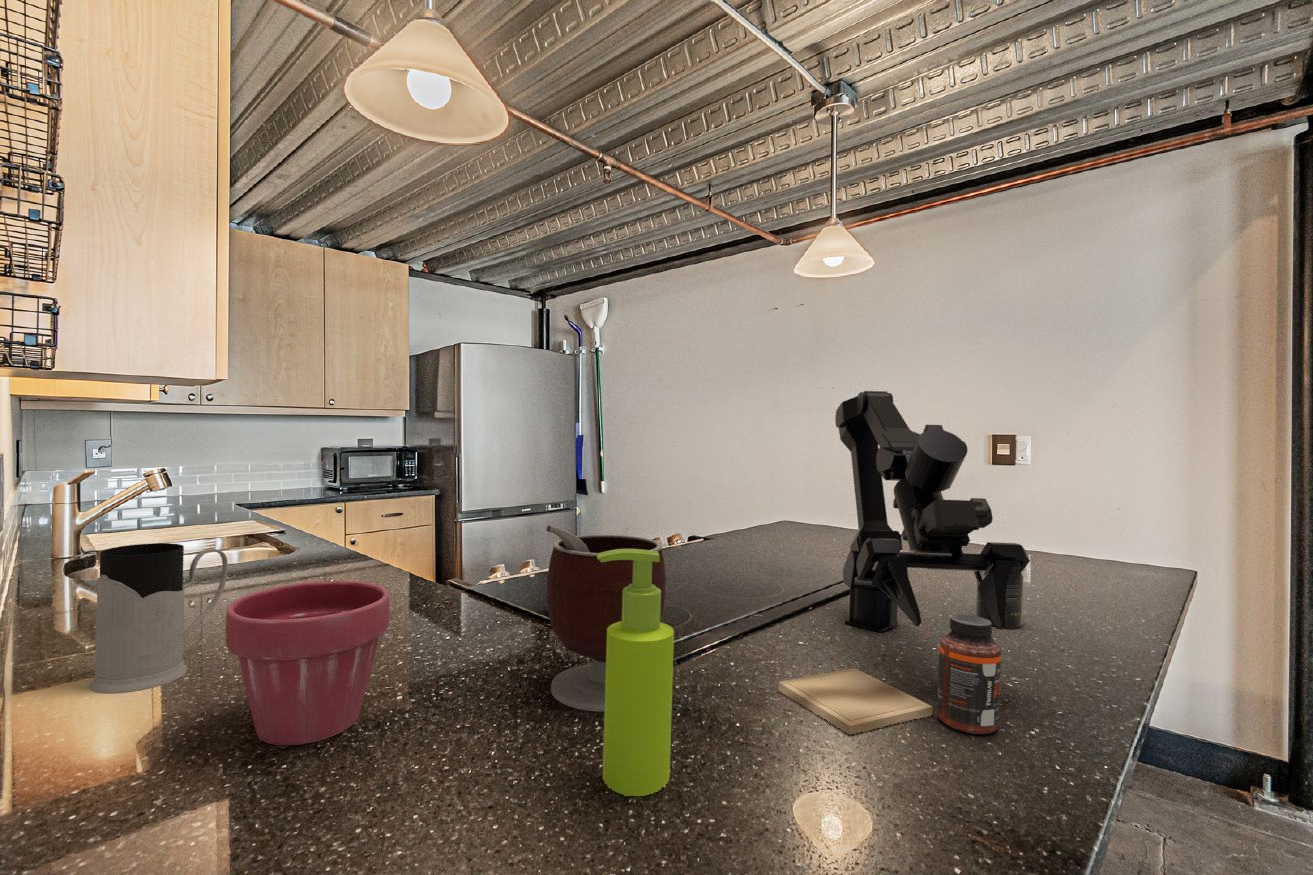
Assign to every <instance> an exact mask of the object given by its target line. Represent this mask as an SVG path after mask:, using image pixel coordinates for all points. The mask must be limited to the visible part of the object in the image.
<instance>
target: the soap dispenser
mask: <svg viewBox="0 0 1313 875" xmlns="http://www.w3.org/2000/svg"><path fill="white" fill-rule="evenodd" d="M597 559H598V560H599V561H600V562H607V561H612V560H633V581H632V584H630V585H628V586H627V587H625V588H624V589H623V593H622V621H620V622H617V623H614V624H612V625H610V626H609V627H608V628H607V647H606V680H605V711H604V716H603V717H604V718H603V719H604V720H603V750H602V753H603V754H602V781H603V780H604V782H605V784H607V786H608V787H610V788H612V790H613V791H615V792H617V793H620V794H623V795H624V796H623V797H627V796H645V795H649V794H653V793H655V792H658V791H659V790H661V788H662V787H664V786H665V785H666V784H667V783H668V781H669V782H670V779H669V778H670V777H671V776H670V774H671V747H672V746H671V741H672V738H671V737H672V715H673V714H672V712H673V711H672V710H673V709H672V708H673V679H674V678H673V676H674V675H673V674H674V648H675V647H674V646H675V644H674V643H675V642H674V641H675V630H674V628H673V627H672V626H670V625H668V624H667V623H663V622H662V621H660V610H661V590H660V589H659V588H657V587H656V586H655V585H653V584H652V561H653V562H659V553H658V551H652V550H643V549H616V550H610V551H605V552H601V553H598V554H597ZM604 782H603V783H604ZM605 784H604V785H605ZM668 784H669V783H668Z"/></svg>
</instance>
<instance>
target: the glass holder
mask: <svg viewBox="0 0 1313 875" xmlns="http://www.w3.org/2000/svg"><path fill="white" fill-rule="evenodd" d="M184 547H185V546H184V545H183V544H179V543H172V542H171V543H170V542H168V543H165V542H163V543H162V542H159V543H158V542H157V543H156V542H155V543H139V544H129V545H121V546H115V547H109V548H107V549H104V550H102V551H100V552H99V553H100V554H99V577H97V581H96V582H97V583H96V584H97V586H96V588H97V589H96V590H97V591H96V624H95V625H96V626H95V628H96V630H95V631H96V632H95V633H96V634H95V669H94V671H95V673H94V675H93V678H92V680H91V682H90V684H89V687H88V688H89V689H90V690H91V691H93V692H95V693H99V694H123V693H132V692H138V691H144V690H148V689H153V688H156V687H157V688H158V687H160V686H164V685H166V684H168V683H172V682H174V681H176V680H178V679H180V678H181V677H183V676H185V675H186V673H187V672H188V667H187V665H186V663H185V661H184V641H185V640H186V638H188V636H189V635H190V634H191V633H192V632H193V631H194V630H195V629H196V628H197V627H198V626H199V625H200V624H201V622H202V621H203V620H204V619H205V618H206V617H207V616H208V615H209V613H211V611H213V609H214V607H216V606H217V603H218V601H219V599H220V598H221V595H222V593H223V591H224V589H225V586H226V581H227V578H228V569H229V564H228V563H229V562H228V557H227V555H226V554H225V552H224V551H222V550H220V549H216V548H206V549H204V550H201V551H199V552H198V553H197V554H196V555H195V556H194V558H192V561H191V563H190V566H189V572H188V573H189V574H188V580H187V582H186V583H185V584H184V553H185V550H184V549H185V548H184ZM210 552H216V553H218V554H219V556H220V557H221V563H222V568H221V569H222V570H221V576H220V581H219V584H218V587H217V590H216V591H215V594H214V596H213V598H212V599H211V600H210V603H209V604H208V605H207V607H206V608H205V609H204V611H203V612H202V613H201V614H200V615H199V616H198V617H197V618H196V620H194V621H193V622H192V624H191V625H190V626H189V627H188V628H187V629H186V630H184V625H185V623H184V622H185V589H188V588H189V587H191V586H192V585H193V584H194V582H195V580H196V579H195V578H196V570H197V566H198V563H199V561H201V560H200V559H201V558H203V556H204V555H205V554H207V553H210Z"/></svg>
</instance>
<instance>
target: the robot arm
mask: <svg viewBox="0 0 1313 875" xmlns="http://www.w3.org/2000/svg"><path fill="white" fill-rule="evenodd" d="M834 420H835V426H836V427H835V428H837V429H838V432H839V440H840V442H842V444H843V445H845V447H846V448H847V449H848V451H850V456H851V466H852V468H851V469H852V475H853V476H852V477H853V485H854V494H855V496H854V497H855V498H854V499H855V505H856V515H857V516H856V517H857V526H858V528H857V529H858V531H857V533H856V534H855V536H854V538H853V539H852V542H851V543H850V546H849V547H850V549H849V552H848V555H847V557H846V561H845V563H844V565H843V568H842V582H843V583H844V585H846V586H847V587H848V588H849V589H850V590H849V612H848V614H849V616H848V617H847V618H845V619H844V621H843V622H844V623H845V624H847V625H852V626H856V627H860V628H862V629H863V628H864V629H867V630H871V631H876V632H880V633H884V632H885V631H888V630H889V629H891V628H894V627H896V626H897V625H899V621H898V608H899V609H900V610H901V611H902V613H904V615H905V616H906V617H907V618H908V619H909V620H910V622H911V623H912V624H913V625H914V626H915V627H920V625H921V624H922V618H921V614H920V608H919V604H918V603H917V599H916V596H915V593H914V590H913V588H912V585H911V584H912V583H911V582H910V581H911V580H910V577H909V572H908V568H909V569H913V568H914V569H926V570H931V571H933V570H934V571H956V572H957V571H958V572H973V573H974V575H975V578H976V581H977V580H978V581H979V582H980V583H981V584H980V585H979V587H978V590H979V592H980V594H981V596H982V598H983V601H984V603H985V605H986V607H987V609H988V611H989V614H990V616H991V618H992V620H993V622H994V623H995V625H996V626H997V627H996V628H997V630H1001V631H1002V630H1003V629H1005V628H1004V627H1005V622H1006V591H1007V586H1009V585H1012V584H1013V583H1014V582H1015V581H1016V579H1017V578H1018V577H1019V575H1020V574H1021V573H1022V572H1023V571H1024V570H1025V568H1026V567H1027V566H1028V565H1029V563H1030V562H1031V560H1030V557H1029V556H1028V553H1027V551H1026V549H1025V548H1024V546H1023V545H1021V544H1019V543H1016V542H996V541H994V542H993V541H987V543H986V544H985V545H984V547H983V548H982V550H981V552H980V553H964V552H963V549H962V548H963V547H967V546H968V545H969V543H970V542H971V539H970V536H969V534H971V533H973V532H974V531H979V529H984V528H986V527H988V526H989V525H990V524H992V522H993V517H994V516H993V513H992V508H991V506H990V505H989V502H988V501H987V499H986V498H984V497H983V498H982V497H981V498H980V497H978V498H977V497H971V498H969V500H967V499H965V500H964V499H945V498H944V496H943V493H942V492H944V491H946V490H949V489H951V487H952V486H953V483H954V481H955V479H956V477H957V475H958V472H959V471H960V469H961V467H962V465H963V462H964V461H965V458H966V456H967V454H968V449H969V448H968V446H967V443H966V442H965V441H963V440H962V439H961V438H960V437H958V436H957V435H956V434H954V433H952V432H950V431H946V430H945V429H944V428H943V424H925V426H924V428H923V432H922V433H918V432H916V431H912V430H911V429H910V428H909V426H908V424H907V423H906V421H905V419H904V418H903V416H902V415H901V412H900V411H899V409H898V408H897V407H896V405H895V403H894V396H893V394H892V393H890V392H888V391H886V390H884V391H883V390H882V391H879V390H865V391H863V392H862V391H861V392H859V393H858V394H857V395H856V396H855V397H852V398H849V399H846V400H844V401H842V402H841V403H840V404H839V405H838V407H837V409H836V411H835V418H834ZM883 480H885V481H892V482H893V481H894V482H895V481H897V482H896V484H895V486H894V488H893V494H894V498H893V504H892V506H893V509H898V512H899V517H900V519H901V522H902V526H903V530H902V532H901V533H900V532H899V531H898V530H893V529H892V528H891V527H890V525H889V522H888V517H887V516H888V514H887V507H886V499H885V491H884V482H883ZM902 541H906V542H907V543H908V544H907V545H908V547H909V549H903V543H902Z"/></svg>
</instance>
